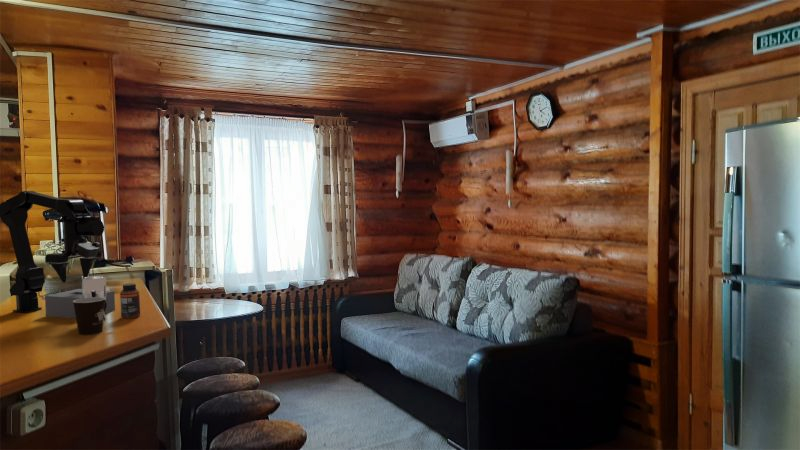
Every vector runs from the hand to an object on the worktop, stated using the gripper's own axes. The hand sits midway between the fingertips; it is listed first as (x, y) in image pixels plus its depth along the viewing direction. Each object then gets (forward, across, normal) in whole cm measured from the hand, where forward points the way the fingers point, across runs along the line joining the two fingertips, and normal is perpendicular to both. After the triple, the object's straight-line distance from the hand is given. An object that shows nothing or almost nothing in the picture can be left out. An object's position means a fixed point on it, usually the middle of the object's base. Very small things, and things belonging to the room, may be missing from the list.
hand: (75, 280), depth 200 cm
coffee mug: (+12, -18, -26) cm, 34 cm away
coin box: (+12, +1, -1) cm, 12 cm away
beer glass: (+12, -9, -17) cm, 23 cm away
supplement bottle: (+12, +1, -22) cm, 25 cm away
